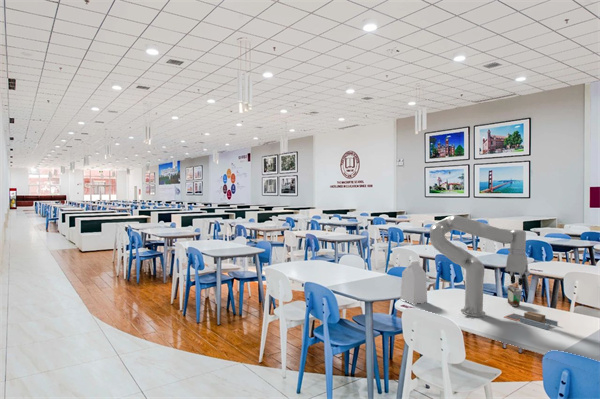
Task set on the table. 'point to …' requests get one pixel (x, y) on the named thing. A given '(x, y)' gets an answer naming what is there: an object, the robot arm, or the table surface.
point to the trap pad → (514, 317)
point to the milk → (414, 284)
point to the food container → (514, 296)
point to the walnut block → (535, 316)
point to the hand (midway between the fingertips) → (516, 283)
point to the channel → (538, 324)
